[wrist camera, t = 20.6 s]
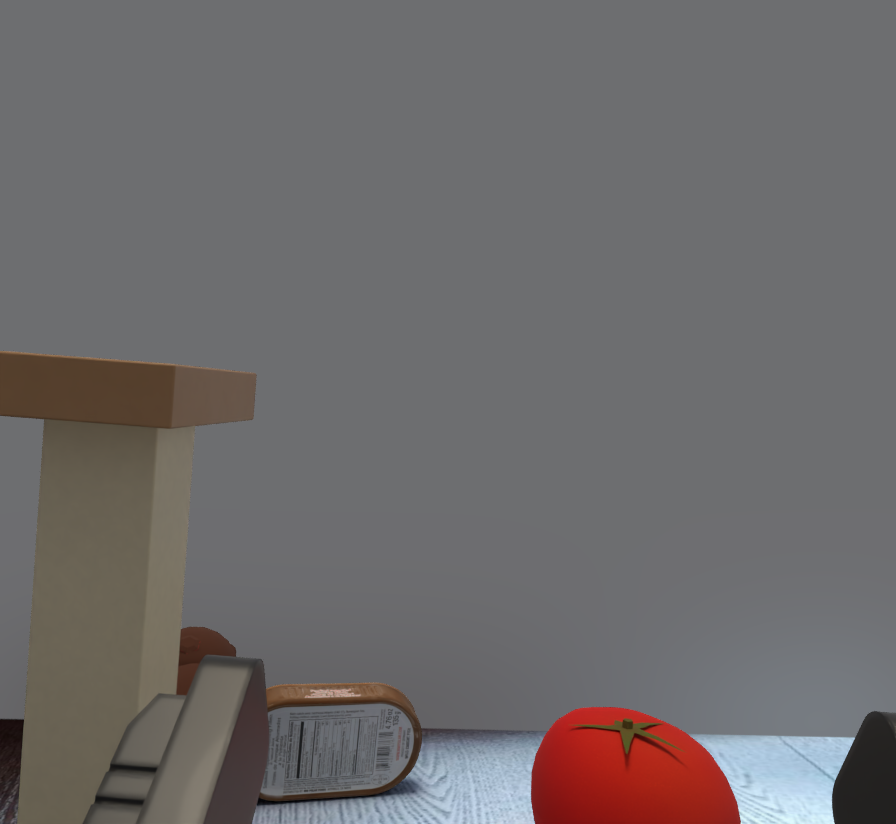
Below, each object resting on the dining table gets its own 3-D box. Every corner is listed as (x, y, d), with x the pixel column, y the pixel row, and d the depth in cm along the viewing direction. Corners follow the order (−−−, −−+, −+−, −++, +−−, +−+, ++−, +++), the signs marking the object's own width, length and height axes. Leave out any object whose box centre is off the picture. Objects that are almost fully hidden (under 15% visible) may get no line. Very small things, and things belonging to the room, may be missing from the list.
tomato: (589, 814, 65) (601, 668, 65) (759, 901, 55) (773, 729, 55) (479, 867, 56) (493, 700, 56) (656, 981, 46) (673, 779, 46)
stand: (120, 1381, 26) (191, 365, 26) (-130, 1356, 26) (-66, 345, 26) (215, 1109, 36) (268, 374, 36) (33, 1092, 36) (83, 360, 36)
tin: (411, 778, 69) (419, 676, 69) (421, 796, 66) (430, 690, 66) (223, 791, 64) (230, 683, 64) (224, 811, 61) (233, 698, 61)
